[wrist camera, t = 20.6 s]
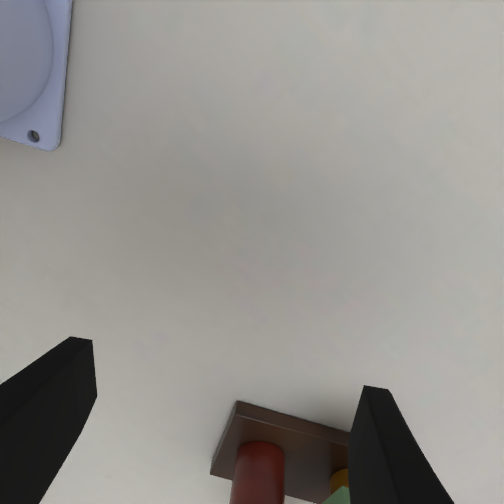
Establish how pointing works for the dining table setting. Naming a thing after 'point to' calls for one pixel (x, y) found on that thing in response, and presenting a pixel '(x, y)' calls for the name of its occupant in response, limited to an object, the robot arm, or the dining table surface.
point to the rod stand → (279, 457)
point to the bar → (339, 497)
